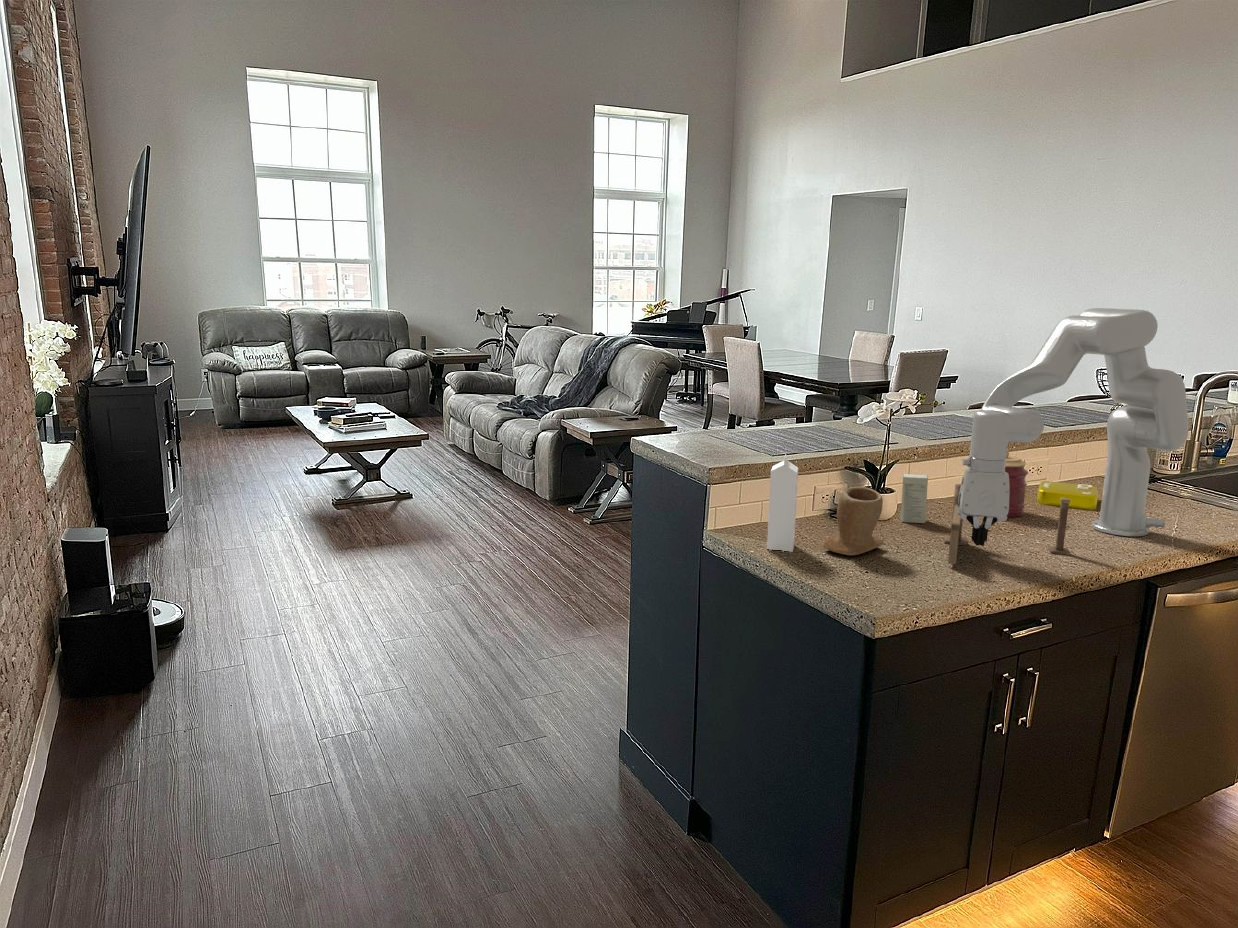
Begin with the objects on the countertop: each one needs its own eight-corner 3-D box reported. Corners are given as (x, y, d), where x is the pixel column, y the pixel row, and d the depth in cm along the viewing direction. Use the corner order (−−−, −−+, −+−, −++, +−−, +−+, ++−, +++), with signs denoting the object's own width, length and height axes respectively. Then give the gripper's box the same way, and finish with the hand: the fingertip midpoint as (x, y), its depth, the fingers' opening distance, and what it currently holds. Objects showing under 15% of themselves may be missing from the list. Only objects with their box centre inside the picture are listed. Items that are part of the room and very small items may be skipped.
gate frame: (944, 543, 203) (949, 486, 201) (943, 537, 208) (949, 482, 205) (1070, 555, 195) (1077, 496, 192) (1066, 549, 199) (1073, 492, 196)
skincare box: (925, 519, 224) (929, 474, 221) (925, 524, 220) (929, 478, 217) (899, 517, 226) (903, 472, 223) (899, 521, 222) (903, 476, 219)
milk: (766, 550, 197) (770, 457, 192) (768, 542, 203) (772, 452, 198) (793, 552, 195) (797, 459, 191) (794, 544, 201) (798, 453, 197)
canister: (972, 515, 229) (978, 451, 225) (971, 504, 241) (977, 443, 237) (1025, 520, 224) (1032, 455, 221) (1022, 509, 236) (1029, 446, 232)
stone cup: (858, 563, 188) (863, 498, 185) (815, 550, 197) (819, 488, 194) (897, 550, 198) (902, 488, 194) (854, 539, 206) (858, 479, 203)
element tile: (1039, 494, 255) (1040, 478, 254) (1095, 500, 248) (1097, 484, 247) (1036, 504, 242) (1038, 488, 241) (1096, 511, 235) (1098, 495, 234)
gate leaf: (951, 538, 204) (955, 503, 202) (958, 539, 203) (962, 504, 201) (947, 563, 186) (951, 524, 184) (955, 564, 185) (959, 525, 183)
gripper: (955, 467, 187) (947, 546, 191) (1027, 470, 185) (1018, 550, 189) (948, 460, 194) (941, 537, 198) (1017, 463, 192) (1008, 541, 196)
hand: (978, 543), depth 193 cm, fingers closed
